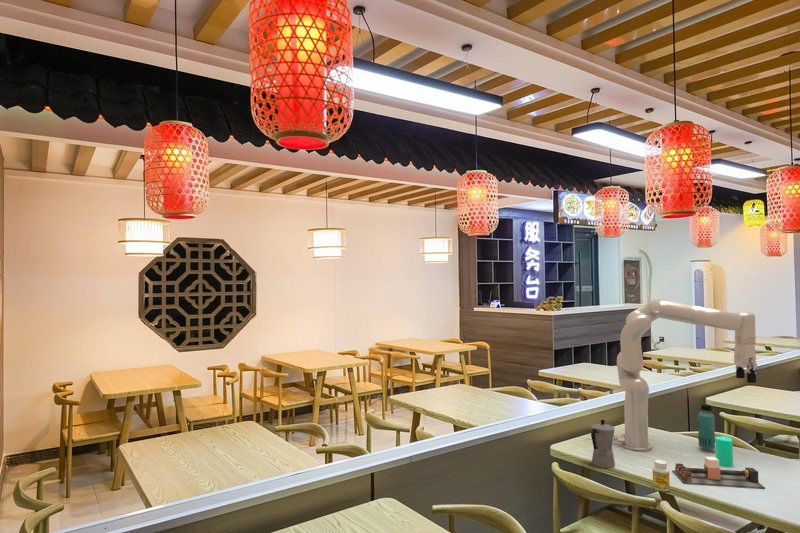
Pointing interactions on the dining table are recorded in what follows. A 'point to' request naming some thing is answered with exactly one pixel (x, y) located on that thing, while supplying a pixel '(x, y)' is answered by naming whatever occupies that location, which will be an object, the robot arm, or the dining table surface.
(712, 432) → the beverage bottle
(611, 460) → the coffeepot
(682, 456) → the dining table surface
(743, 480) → the linear slide rail
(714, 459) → the orange block
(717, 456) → the candle
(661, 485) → the supplement bottle
